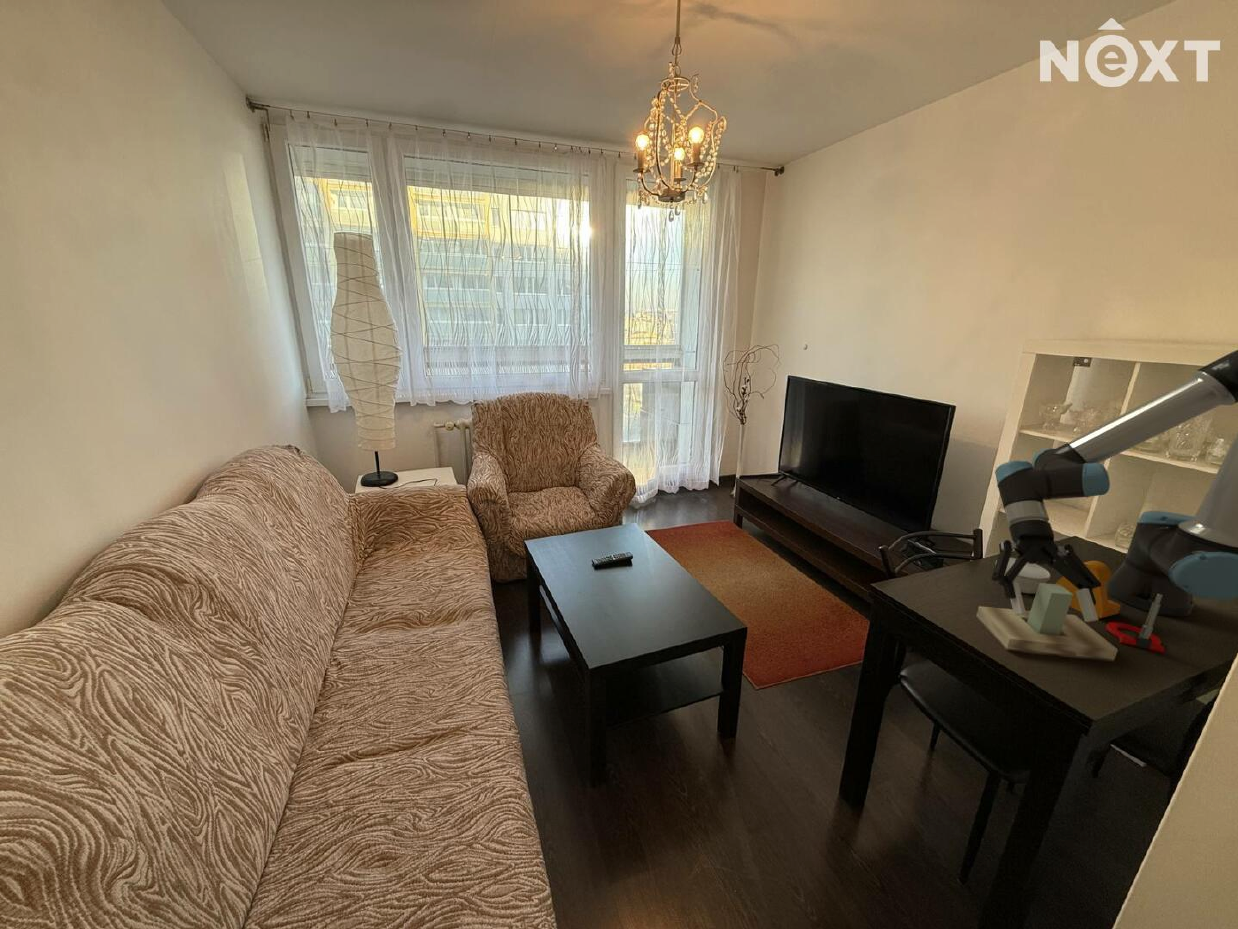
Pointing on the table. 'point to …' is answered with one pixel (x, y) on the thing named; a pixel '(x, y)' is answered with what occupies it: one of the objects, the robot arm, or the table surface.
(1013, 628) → the block with square hole
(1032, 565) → the ramekin
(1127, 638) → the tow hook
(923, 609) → the table surface
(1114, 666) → the table surface
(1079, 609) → the bracket
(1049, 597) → the peg
